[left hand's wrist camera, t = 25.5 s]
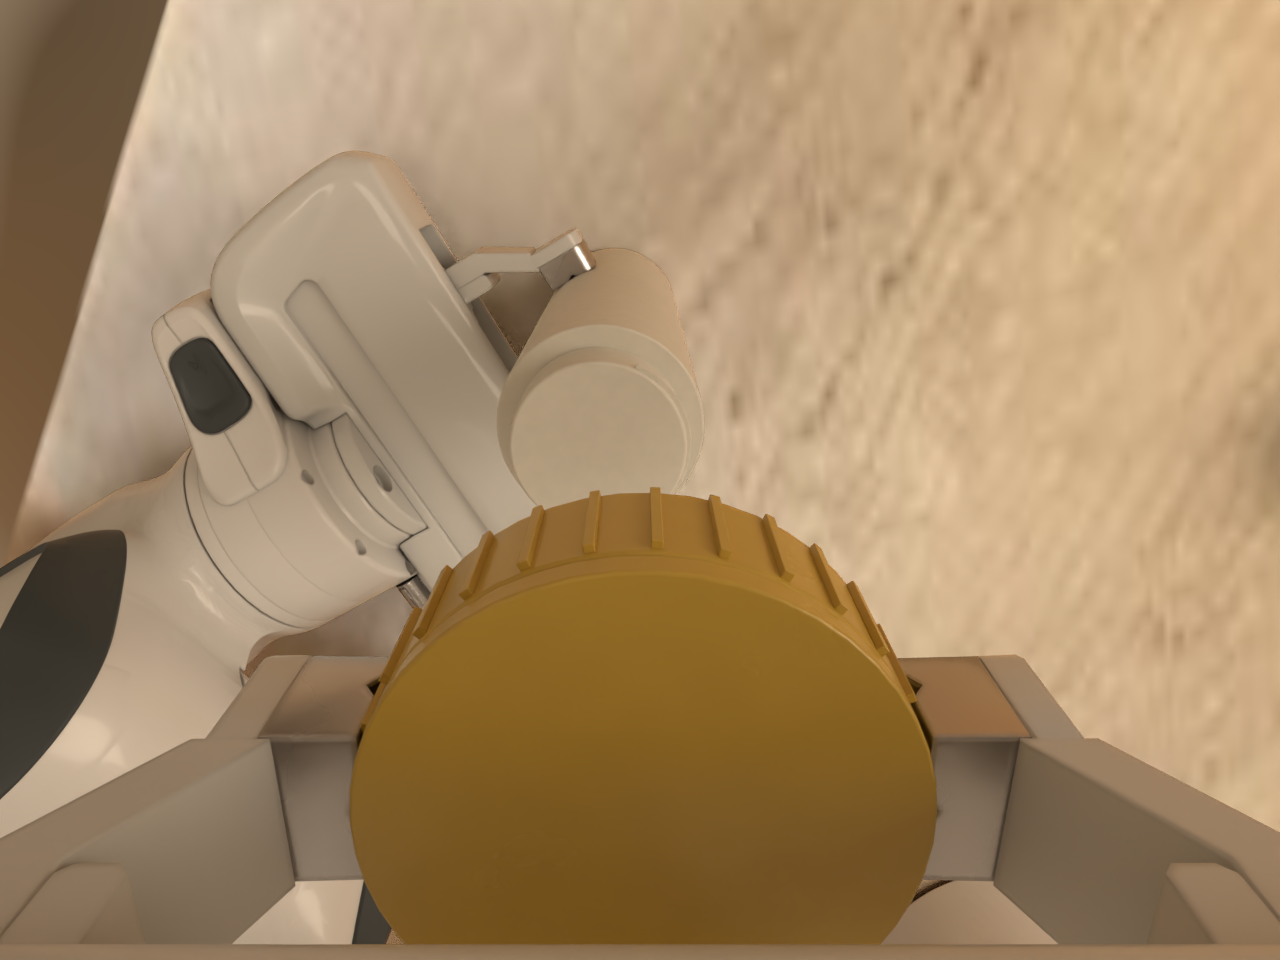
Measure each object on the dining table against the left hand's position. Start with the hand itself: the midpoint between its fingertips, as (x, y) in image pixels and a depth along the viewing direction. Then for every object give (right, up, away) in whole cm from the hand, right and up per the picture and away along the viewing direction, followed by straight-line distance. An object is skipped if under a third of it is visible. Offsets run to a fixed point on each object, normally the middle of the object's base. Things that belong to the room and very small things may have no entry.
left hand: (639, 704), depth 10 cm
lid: (0, -1, -2) cm, 2 cm away
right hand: (0, +8, +23) cm, 24 cm away
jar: (-1, +10, +28) cm, 30 cm away
